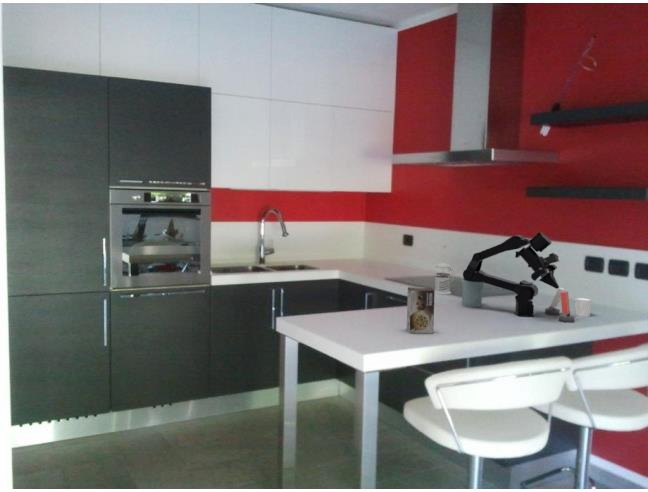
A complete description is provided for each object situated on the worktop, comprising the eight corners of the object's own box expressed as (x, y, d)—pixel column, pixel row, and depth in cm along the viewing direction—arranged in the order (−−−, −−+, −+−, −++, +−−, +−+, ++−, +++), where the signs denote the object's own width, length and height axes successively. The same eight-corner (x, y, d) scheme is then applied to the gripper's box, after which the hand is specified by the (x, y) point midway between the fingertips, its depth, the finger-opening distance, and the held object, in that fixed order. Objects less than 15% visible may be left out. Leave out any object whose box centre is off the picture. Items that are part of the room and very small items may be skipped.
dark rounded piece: (556, 321, 247) (557, 312, 247) (560, 318, 252) (561, 310, 252) (571, 323, 244) (572, 314, 243) (575, 320, 249) (576, 312, 248)
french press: (428, 291, 315) (430, 243, 313) (446, 290, 320) (448, 243, 318) (439, 294, 306) (442, 245, 304) (458, 293, 311) (460, 245, 309)
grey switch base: (543, 313, 262) (543, 305, 261) (547, 311, 267) (547, 303, 266) (557, 315, 258) (557, 307, 258) (561, 313, 263) (561, 305, 263)
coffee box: (429, 329, 226) (431, 287, 225) (433, 333, 220) (435, 290, 218) (405, 329, 226) (407, 286, 225) (408, 333, 220) (410, 289, 218)
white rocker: (549, 308, 261) (558, 288, 258) (552, 306, 264) (561, 287, 262) (553, 310, 260) (562, 290, 257) (556, 308, 263) (565, 289, 261)
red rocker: (561, 316, 247) (559, 292, 246) (564, 314, 250) (562, 291, 250) (567, 316, 245) (565, 292, 245) (570, 314, 249) (568, 291, 249)
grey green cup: (487, 306, 276) (488, 280, 275) (468, 307, 272) (469, 281, 271) (473, 302, 285) (475, 277, 284) (455, 303, 281) (456, 278, 280)
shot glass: (570, 313, 264) (571, 298, 263) (582, 313, 266) (583, 297, 265) (582, 316, 257) (583, 300, 257) (594, 316, 260) (595, 300, 259)
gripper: (540, 248, 243) (567, 278, 238) (553, 245, 258) (578, 273, 253) (520, 265, 248) (545, 295, 243) (533, 262, 263) (558, 289, 258)
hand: (558, 288), depth 249 cm, fingers closed
